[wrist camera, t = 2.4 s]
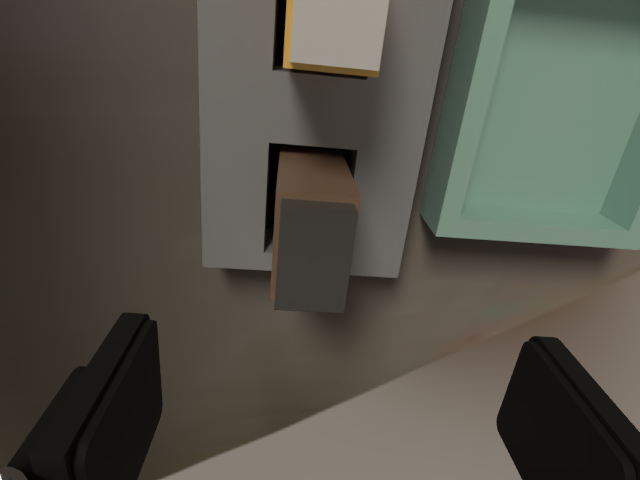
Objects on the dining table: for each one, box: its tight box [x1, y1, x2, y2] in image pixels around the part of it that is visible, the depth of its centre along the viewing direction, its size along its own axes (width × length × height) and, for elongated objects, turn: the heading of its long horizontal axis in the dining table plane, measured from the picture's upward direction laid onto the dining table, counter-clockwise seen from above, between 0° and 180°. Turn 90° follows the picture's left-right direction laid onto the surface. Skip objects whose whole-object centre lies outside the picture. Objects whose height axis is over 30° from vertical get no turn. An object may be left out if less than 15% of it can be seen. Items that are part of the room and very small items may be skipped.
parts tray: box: [420, 0, 640, 250], centre depth 21 cm, size 13×11×3 cm
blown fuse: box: [270, 144, 361, 313], centre depth 19 cm, size 4×3×9 cm, turn 174°
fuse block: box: [197, 0, 453, 278], centre depth 20 cm, size 16×10×3 cm, turn 174°
